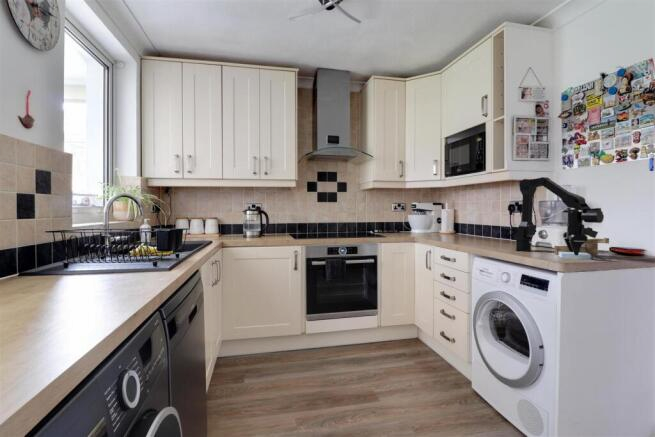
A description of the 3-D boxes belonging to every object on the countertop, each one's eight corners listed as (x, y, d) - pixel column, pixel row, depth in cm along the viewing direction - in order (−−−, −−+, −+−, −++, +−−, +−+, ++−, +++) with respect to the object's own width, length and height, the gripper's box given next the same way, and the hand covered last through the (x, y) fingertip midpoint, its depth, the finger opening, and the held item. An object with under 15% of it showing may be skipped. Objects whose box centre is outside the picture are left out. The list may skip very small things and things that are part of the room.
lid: (561, 258, 150) (561, 253, 150) (558, 256, 157) (558, 251, 157) (590, 260, 145) (590, 254, 145) (586, 257, 152) (586, 252, 152)
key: (588, 242, 154) (588, 237, 154) (586, 242, 157) (587, 237, 157) (609, 243, 151) (609, 238, 150) (606, 242, 153) (606, 237, 153)
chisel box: (556, 254, 159) (556, 238, 159) (554, 253, 164) (554, 237, 164) (597, 256, 152) (597, 239, 151) (593, 255, 157) (594, 238, 157)
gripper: (602, 223, 139) (601, 258, 139) (590, 221, 155) (589, 252, 156) (571, 222, 144) (570, 256, 144) (562, 221, 160) (562, 251, 161)
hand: (574, 254), depth 151 cm, fingers open, 9 cm apart
